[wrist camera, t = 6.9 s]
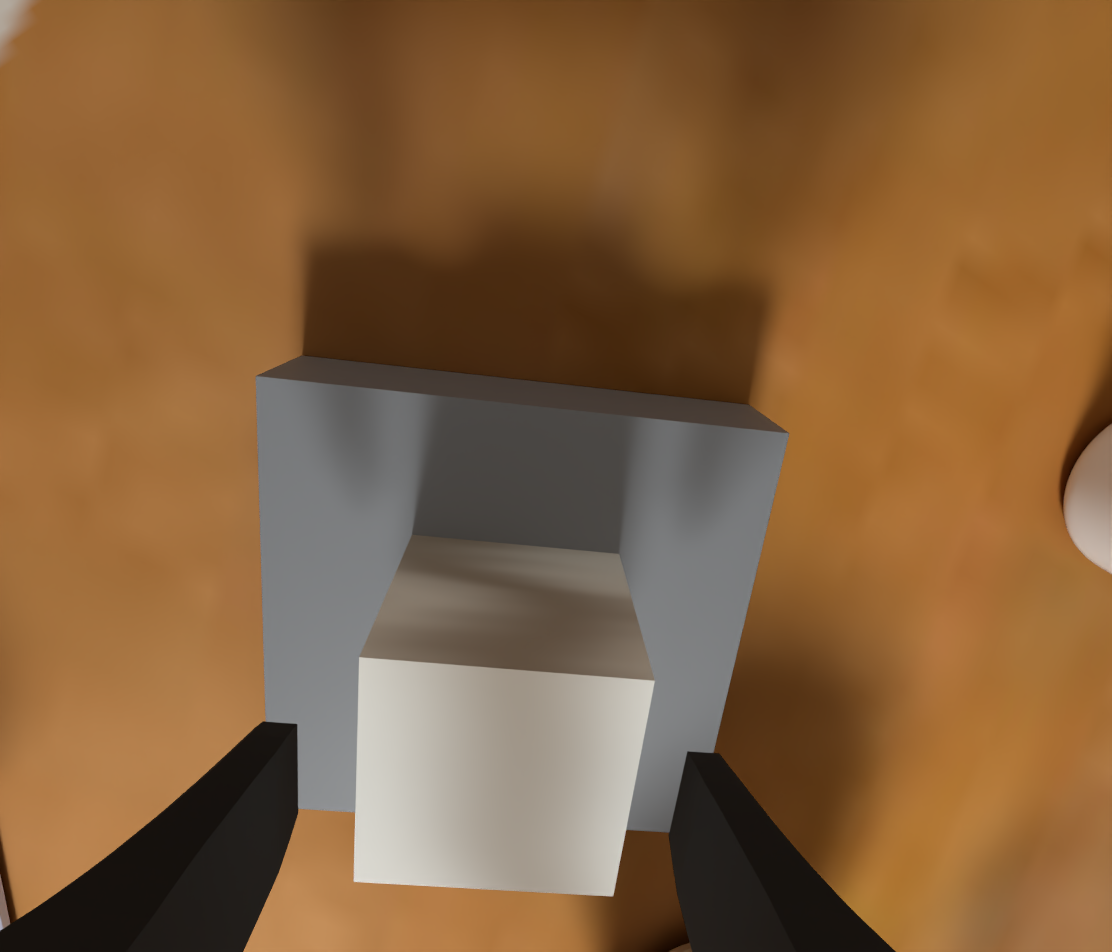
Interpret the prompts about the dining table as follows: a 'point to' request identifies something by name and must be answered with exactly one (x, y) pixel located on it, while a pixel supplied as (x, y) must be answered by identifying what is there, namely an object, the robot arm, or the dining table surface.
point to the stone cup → (682, 948)
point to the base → (502, 532)
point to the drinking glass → (1092, 501)
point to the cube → (500, 720)
